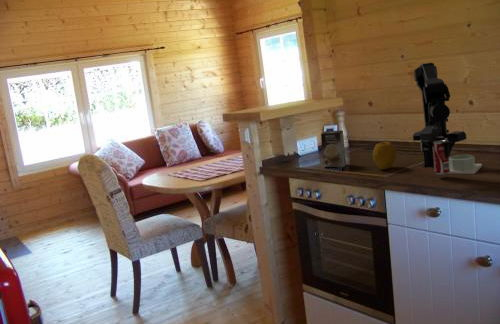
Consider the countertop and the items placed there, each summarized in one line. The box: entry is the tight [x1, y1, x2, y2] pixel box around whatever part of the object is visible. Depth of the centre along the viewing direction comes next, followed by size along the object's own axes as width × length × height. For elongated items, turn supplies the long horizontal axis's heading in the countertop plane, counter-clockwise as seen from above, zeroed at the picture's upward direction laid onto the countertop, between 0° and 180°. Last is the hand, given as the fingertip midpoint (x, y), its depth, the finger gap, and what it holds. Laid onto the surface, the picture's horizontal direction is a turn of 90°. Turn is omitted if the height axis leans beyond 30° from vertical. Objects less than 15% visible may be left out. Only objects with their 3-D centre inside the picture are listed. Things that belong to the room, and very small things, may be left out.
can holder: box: [449, 154, 483, 175], centre depth 199 cm, size 12×12×5 cm
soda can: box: [432, 140, 450, 176], centre depth 190 cm, size 5×5×12 cm
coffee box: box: [320, 130, 347, 168], centre depth 237 cm, size 9×6×16 cm
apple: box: [372, 141, 397, 170], centre depth 218 cm, size 10×10×12 cm
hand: (440, 159), depth 191 cm, fingers closed on soda can, 5 cm apart
